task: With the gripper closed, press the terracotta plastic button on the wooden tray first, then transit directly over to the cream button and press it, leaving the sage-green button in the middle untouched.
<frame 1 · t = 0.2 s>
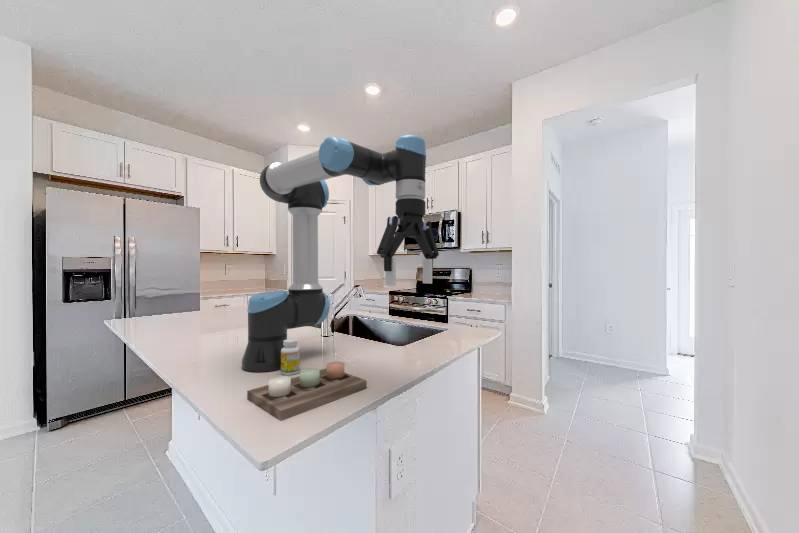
hand: (410, 284, 82), 27 cm above the countertop, fingers open, 13 cm apart
wooden tray: (309, 393, 81), on the countertop
terracotta button: (335, 369, 87), point 4 cm above the countertop, slide at 0.0 cm
sage button: (309, 377, 81), point 4 cm above the countertop, slide at 0.0 cm
supplement bottle: (290, 373, 97), on the countertop
cream button: (279, 386, 75), point 4 cm above the countertop, slide at 0.0 cm
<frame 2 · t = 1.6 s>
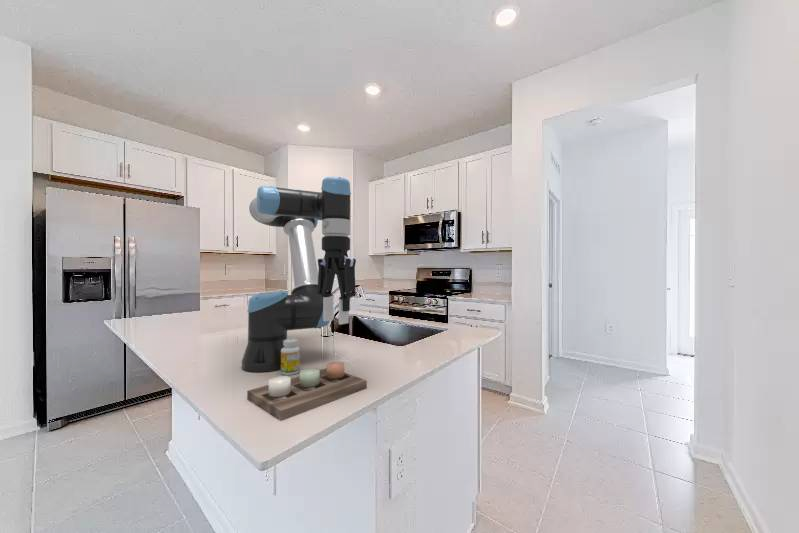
hand: (335, 321, 87), 17 cm above the countertop, fingers open, 6 cm apart
nothing on the countertop moved.
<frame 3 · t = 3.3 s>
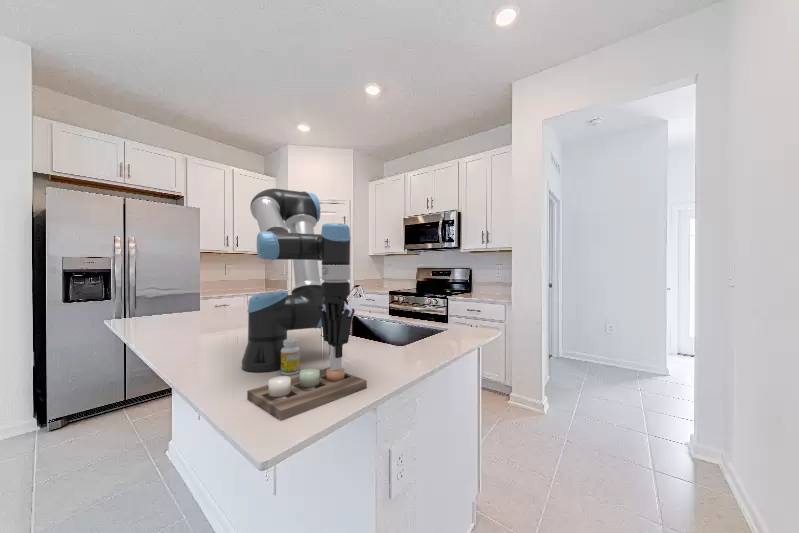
hand: (335, 369, 87), 4 cm above the countertop, fingers closed
terracotta button: (335, 375, 87), point 2 cm above the countertop, slide at 1.5 cm, touching gripper
everything else where it was.
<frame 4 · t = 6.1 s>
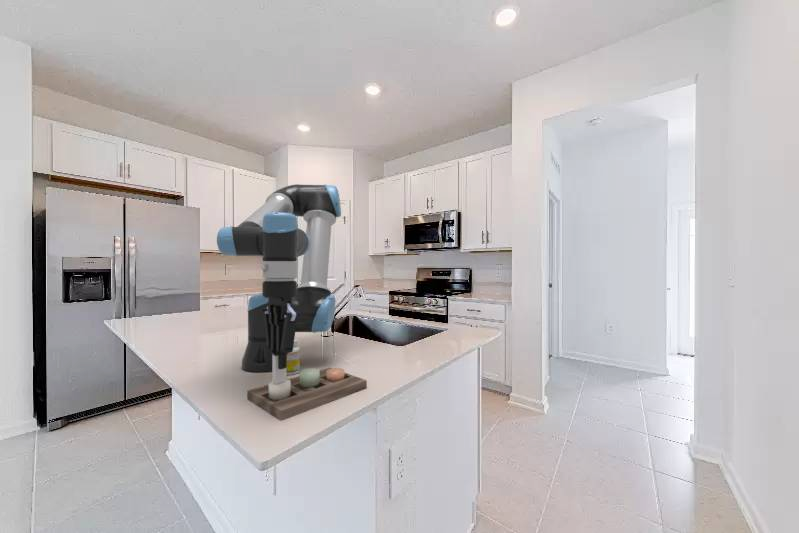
hand: (279, 381, 75), 5 cm above the countertop, fingers closed
terracotta button: (335, 376, 87), point 2 cm above the countertop, slide at 1.8 cm
cream button: (279, 388, 75), point 3 cm above the countertop, slide at 0.7 cm, touching gripper
everything else where it was.
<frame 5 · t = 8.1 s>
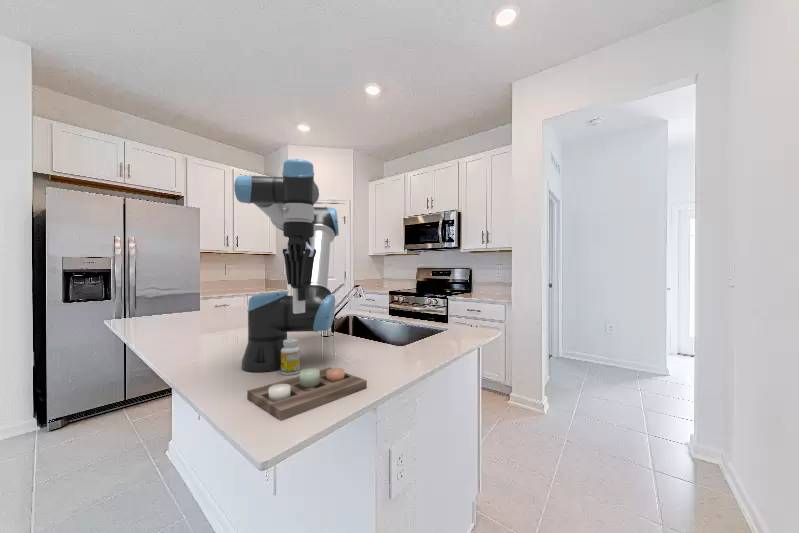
hand: (299, 312, 84), 20 cm above the countertop, fingers closed
cream button: (279, 393, 75), point 2 cm above the countertop, slide at 1.8 cm
everything else where it was.
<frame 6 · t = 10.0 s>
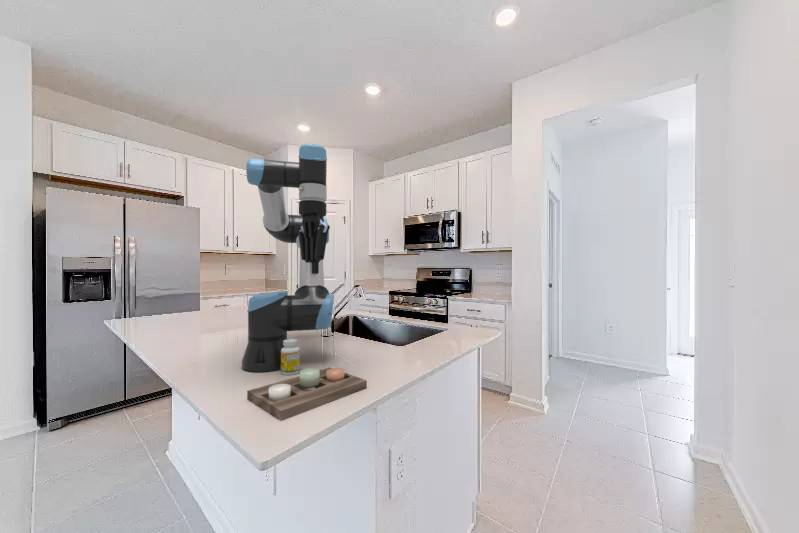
hand: (312, 285, 91), 26 cm above the countertop, fingers closed
nothing on the countertop moved.
at the end: terracotta button slide at 1.8 cm; cream button slide at 1.8 cm; sage button slide at 0.0 cm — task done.
